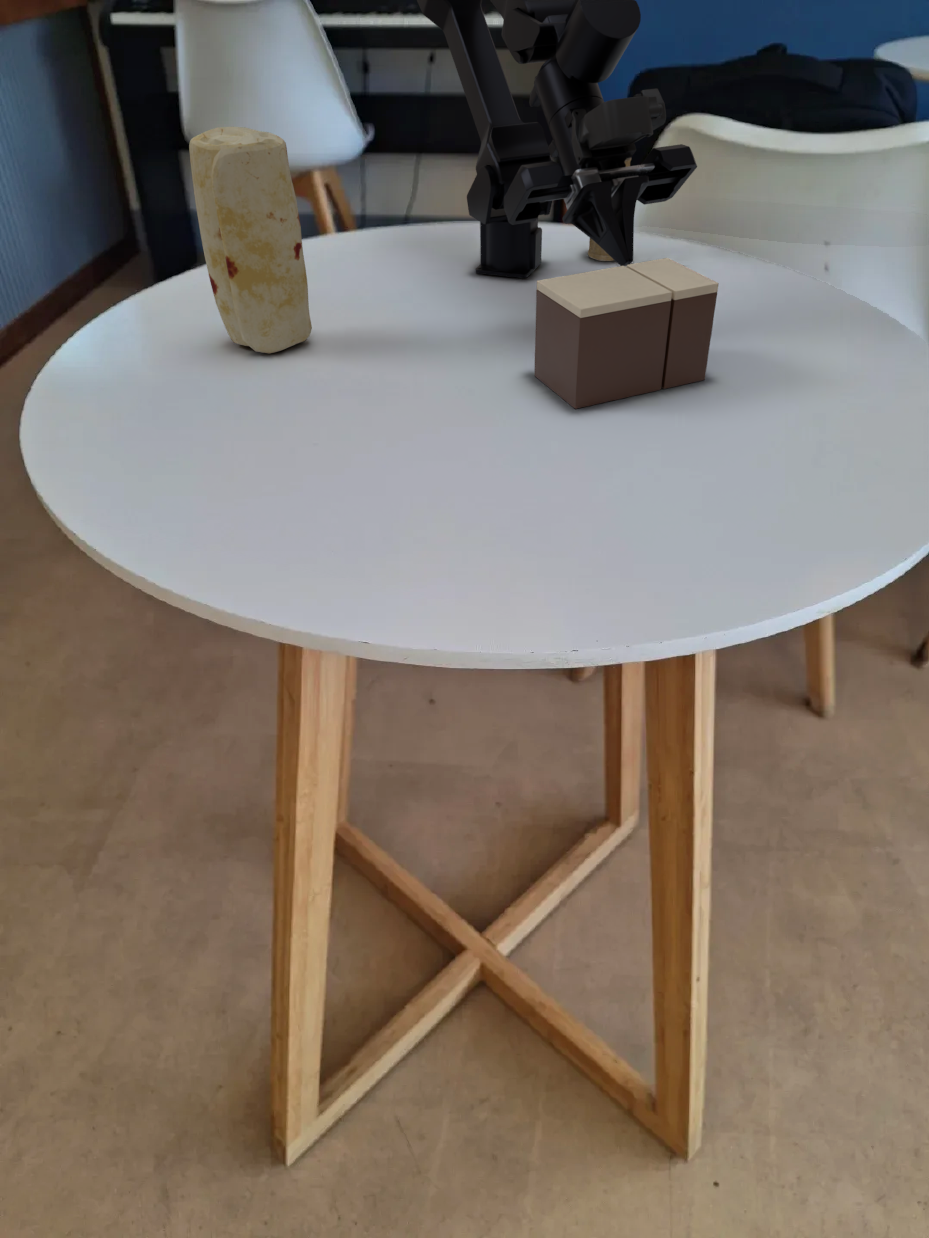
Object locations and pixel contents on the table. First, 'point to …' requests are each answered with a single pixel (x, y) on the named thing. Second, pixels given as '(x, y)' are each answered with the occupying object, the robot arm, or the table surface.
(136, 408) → the table surface
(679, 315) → the cake slice
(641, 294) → the box
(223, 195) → the food model
